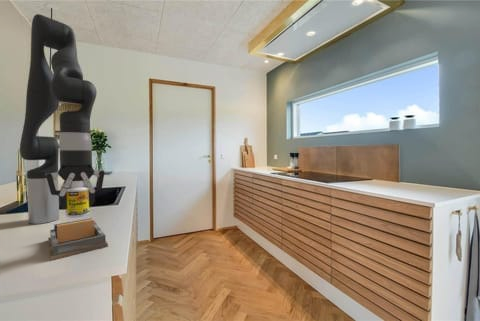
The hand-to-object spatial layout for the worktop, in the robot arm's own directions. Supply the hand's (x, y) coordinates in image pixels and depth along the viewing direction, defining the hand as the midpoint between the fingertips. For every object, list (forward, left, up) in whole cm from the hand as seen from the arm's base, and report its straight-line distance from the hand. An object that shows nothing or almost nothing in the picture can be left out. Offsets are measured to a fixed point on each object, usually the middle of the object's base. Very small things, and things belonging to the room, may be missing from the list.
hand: (77, 206), depth 66 cm
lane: (-3, 0, -12) cm, 12 cm away
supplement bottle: (0, 0, -3) cm, 3 cm away
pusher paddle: (-4, 0, -11) cm, 12 cm away
